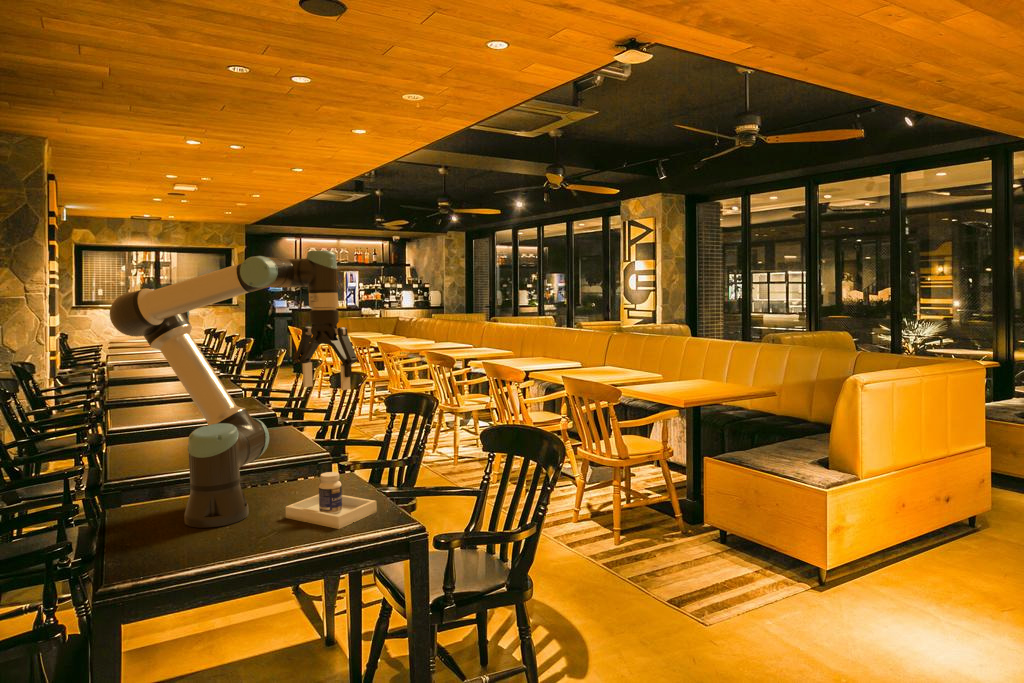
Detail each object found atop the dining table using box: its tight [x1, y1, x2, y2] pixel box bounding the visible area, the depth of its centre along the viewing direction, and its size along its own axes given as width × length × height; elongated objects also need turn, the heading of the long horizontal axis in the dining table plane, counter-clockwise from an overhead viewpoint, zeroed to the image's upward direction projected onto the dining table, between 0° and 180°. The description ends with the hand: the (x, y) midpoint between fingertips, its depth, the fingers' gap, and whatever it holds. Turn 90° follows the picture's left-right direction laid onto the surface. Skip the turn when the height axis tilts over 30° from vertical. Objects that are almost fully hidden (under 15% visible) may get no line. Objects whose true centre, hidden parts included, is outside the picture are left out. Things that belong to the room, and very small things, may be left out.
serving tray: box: [285, 493, 378, 530], centre depth 175 cm, size 18×14×3 cm
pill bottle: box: [318, 471, 343, 514], centre depth 175 cm, size 6×6×10 cm
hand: (326, 388), depth 183 cm, fingers open, 13 cm apart
